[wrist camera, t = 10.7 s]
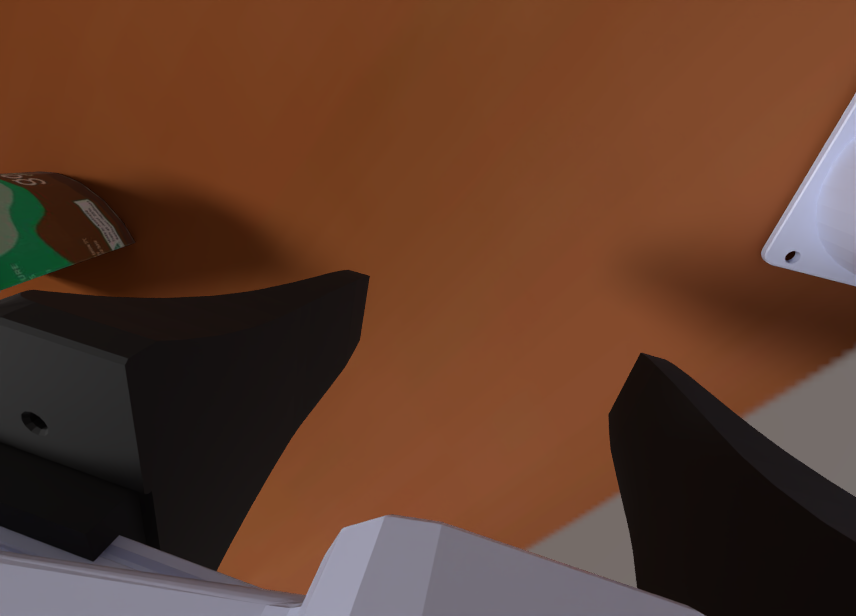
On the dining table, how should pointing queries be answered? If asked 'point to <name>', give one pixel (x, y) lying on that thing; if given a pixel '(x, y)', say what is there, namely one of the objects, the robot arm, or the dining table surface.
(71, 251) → the food container
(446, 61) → the dining table surface
